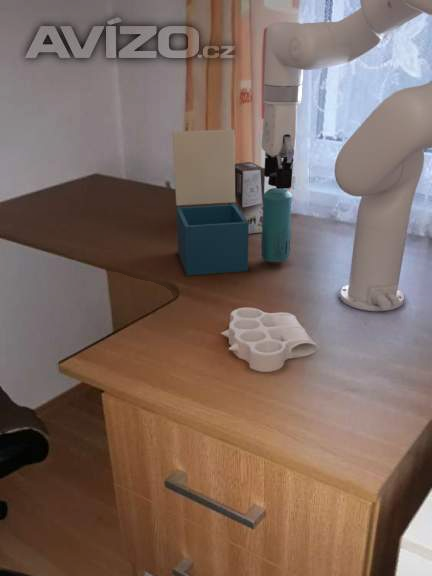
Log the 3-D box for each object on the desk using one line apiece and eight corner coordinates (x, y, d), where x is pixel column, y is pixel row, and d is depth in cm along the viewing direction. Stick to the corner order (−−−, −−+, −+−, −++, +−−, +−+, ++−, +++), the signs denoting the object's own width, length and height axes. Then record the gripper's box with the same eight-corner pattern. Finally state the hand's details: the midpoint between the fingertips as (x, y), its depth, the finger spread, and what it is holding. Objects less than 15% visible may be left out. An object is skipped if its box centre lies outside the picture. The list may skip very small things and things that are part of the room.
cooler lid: (234, 129, 135) (229, 128, 140) (172, 132, 133) (170, 130, 138) (235, 202, 142) (230, 198, 147) (176, 205, 140) (173, 201, 145)
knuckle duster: (322, 366, 100) (236, 376, 98) (288, 319, 115) (212, 326, 112) (324, 348, 98) (236, 358, 96) (289, 302, 113) (212, 310, 111)
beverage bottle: (287, 269, 136) (292, 178, 126) (258, 267, 138) (261, 176, 127) (290, 259, 142) (295, 170, 131) (262, 257, 143) (265, 169, 132)
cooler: (247, 271, 136) (248, 222, 130) (186, 275, 134) (185, 226, 128) (234, 248, 148) (234, 204, 142) (178, 252, 146) (176, 207, 140)
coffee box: (264, 232, 159) (266, 168, 150) (241, 235, 157) (242, 170, 148) (249, 222, 166) (250, 161, 157) (227, 225, 164) (228, 163, 155)
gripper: (254, 89, 128) (251, 172, 137) (275, 101, 113) (270, 193, 123) (288, 88, 129) (283, 171, 138) (313, 100, 114) (306, 192, 124)
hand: (277, 182), depth 130 cm, fingers open, 9 cm apart
